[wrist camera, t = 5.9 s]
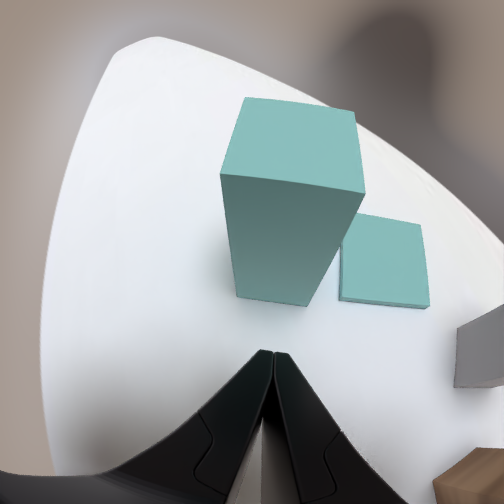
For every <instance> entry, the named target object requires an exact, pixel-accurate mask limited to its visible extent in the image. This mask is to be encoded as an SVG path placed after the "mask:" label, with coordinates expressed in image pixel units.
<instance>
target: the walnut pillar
mask: <svg viewBox="0 0 504 504" xmlns="http://www.w3.org/2000/svg"><path fill="white" fill-rule="evenodd" d="M433 485H434V490H435V495H436V500H437V504H504V449H499V448H476V449H474V450H473V451H472V452H471V453H470V454H468V455H467V456H466V457H465V458H463V459H462V460H461V461H459V462H458V463H457V464H456V465H454V466H453V467H452V468H450V469H449V470H447V471H446V472H445V473H443V474H442V475H440V476H439V477H437V478H436V479H435V480H433Z"/></svg>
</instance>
